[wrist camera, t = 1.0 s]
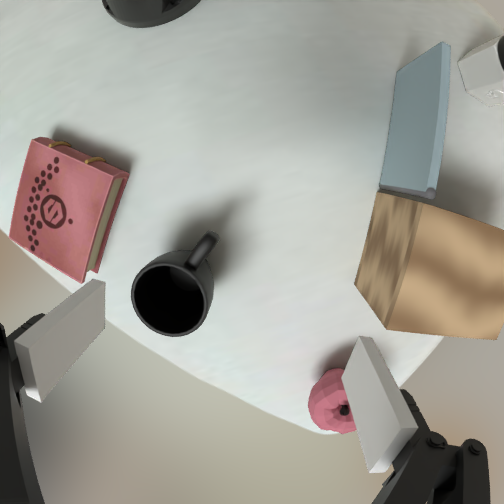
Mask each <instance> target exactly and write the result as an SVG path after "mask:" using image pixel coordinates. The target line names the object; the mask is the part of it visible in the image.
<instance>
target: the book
mask: <svg viewBox="0 0 504 504" xmlns="http://www.w3.org/2000/svg"><path fill="white" fill-rule="evenodd" d="M70 147H71V145H70V144H68V143H67V142H62V141H58V142H56V141H54V140H52V139H49V138H46V137H38V138H35V139H32V140H31V143H30V146H29V149H28V153H27V156H26V160H25V163H24V167H23V171H22V174H21V178H20V183H19V187H18V191H17V196H16V200H15V205H14V210H13V215H12V221H11V227H10V233H9V238H10V239H11V240H13V241H14V242H15V243H17V244H18V245H20V246H21V247H23V248H24V249H26V250H27V251H29V252H30V253H32V254H34V255H35V256H37V257H38V258H40V259H41V260H43V261H45V262H46V263H48V264H49V265H51V266H52V267H54V268H56V269H57V270H59V271H61V272H62V273H64V274H66V275H67V276H69V277H71V278H72V279H74V280H76V281H77V282H79V283H81V284H82V283H83V282H84V281H85V277H86V273H87V272H88V271H89V270H91V271H93V272H95V273H98V270H99V266H100V263H101V259H102V256H103V252H104V249H105V245H106V242H107V239H108V236H109V232H110V229H111V226H112V223H113V220H114V217H115V214H116V211H117V208H118V205H119V202H120V199H121V197H122V194H123V191H124V188H125V186H126V183H127V180H128V178H129V175H130V174H129V173H127V172H125V171H123V170H121V169H118V168H116V167H114V166H112V165H109V164H107V163H105V162H106V160H105V159H103V158H102V157H91V156H89V155H86V154H84V153H82V152H80V151H77V150H75V149H73V148H70Z"/></svg>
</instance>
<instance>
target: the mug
mask: <svg viewBox="0 0 504 504" xmlns="http://www.w3.org/2000/svg"><path fill="white" fill-rule="evenodd" d="M219 241H220V237H219V236H218V235H217V234H216V233H215V232H213V231H208V232H207V233H206V234H205V235H204V236H203V237H202V238H201V240H200V241H199V242H198V244H197V245H196V246H195V248H194V249H193V250H192V251H173V252H169V253H166V254H163V255H161V256H159V257H157V258H155V259H154V260H153V261H151V262H150V263H149V264H147V265H146V266H145V267H144V268H143V269H141V271H140V272H139V273H138V274H137V275H136V277H135V279H134V281H133V284H132V289H131V300H132V304H133V308H134V310H135V312H136V314H137V316H138V317H139V318H140V320H141V321H142V322H143V323H144V324H145V325H146V326H147V327H148V328H150V329H151V330H153V331H155V332H156V333H159V334H162V335H165V336H171V337H179V336H184V335H188V334H190V333H192V332H193V331H195V330H197V329H198V328H199V327H200V326H201V325H202V323H203V322H204V320H205V319H206V316H207V314H208V311H209V308H210V306H211V303H212V299H213V291H214V283H213V277H212V273H211V270H210V267H209V264H208V262H207V261H206V259H205V258H206V257H207V256H208V255H209V253H210V252H211V251H212V249H213V248H214V247H215V246H216V244H217V243H218V242H219Z"/></svg>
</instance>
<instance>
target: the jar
mask: <svg viewBox="0 0 504 504" xmlns="http://www.w3.org/2000/svg"><path fill="white" fill-rule="evenodd" d="M458 66H459V69H460V72H461V75H462V79H463V82H464V86H465V89H466V92H467V93H469V94H470V95H472V96H473V97H475V98H476V99H478V100H479V101H481V102H482V103H484V104H485V105H486V106H488V107H490V106H495V105H500V104H504V34H503V35H501V36H499V37H497V38H495V39H493V40H490V41H488V42H486V43H484V44H482V45H480V46H478V47H476V48H474V49H472V50H471V51H469V52H468V53H467V54H466V55H465V56H464V57H463V58H462V59H461V60H459V61H458Z"/></svg>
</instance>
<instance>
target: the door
mask: <svg viewBox="0 0 504 504" xmlns="http://www.w3.org/2000/svg"><path fill="white" fill-rule="evenodd" d="M450 53H451V46H450V45H448V44H446V43H444V42H440V43H439V44H437V45H436V46H434V47H433V48H431V49H430V50H428V51H427V52H425V53H424V54H422V55H421V56H419V57H418V58H416V59H415V60H413V61H412V62H410V63H409V64H408V65H406V66H405V67H403V68H402V69H400V70H399V71H397V75H396V84H395V93H394V101H393V109H392V116H391V123H390V130H389V136H388V142H387V148H386V154H385V160H384V165H383V171H382V176H381V181H380V183H379V187H380V188H381V189H384V190H390V191H395V192H400V193H404V194H409V195H414V196H419V197H423V198H428V199H434V198H435V196H436V187H437V181H438V176H439V170H440V164H441V158H442V152H443V145H444V137H445V129H446V120H447V110H448V98H449V83H450Z"/></svg>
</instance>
